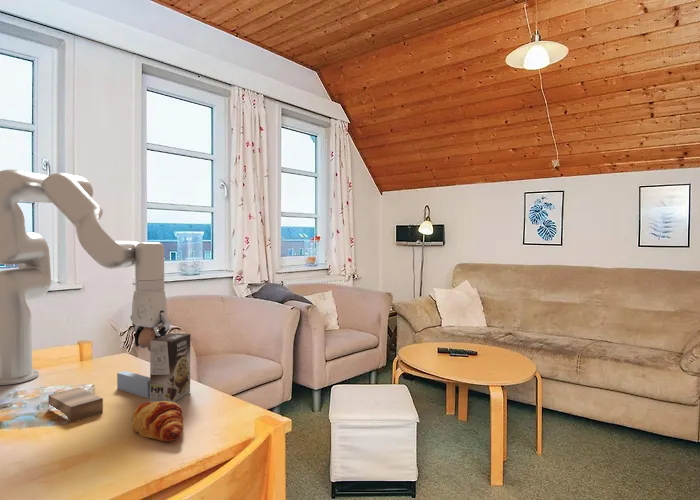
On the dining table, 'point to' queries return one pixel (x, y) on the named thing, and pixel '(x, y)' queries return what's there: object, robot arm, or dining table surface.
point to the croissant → (159, 420)
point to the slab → (77, 404)
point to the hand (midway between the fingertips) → (150, 346)
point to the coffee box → (169, 367)
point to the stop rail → (134, 383)
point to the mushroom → (146, 337)
